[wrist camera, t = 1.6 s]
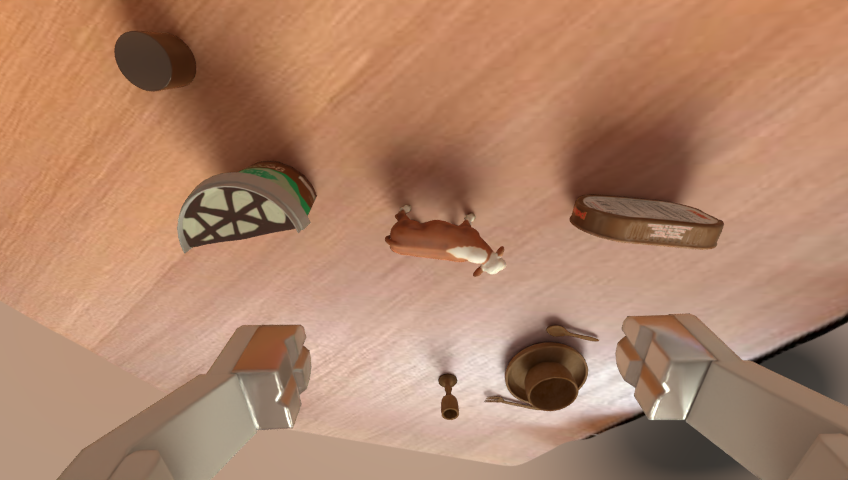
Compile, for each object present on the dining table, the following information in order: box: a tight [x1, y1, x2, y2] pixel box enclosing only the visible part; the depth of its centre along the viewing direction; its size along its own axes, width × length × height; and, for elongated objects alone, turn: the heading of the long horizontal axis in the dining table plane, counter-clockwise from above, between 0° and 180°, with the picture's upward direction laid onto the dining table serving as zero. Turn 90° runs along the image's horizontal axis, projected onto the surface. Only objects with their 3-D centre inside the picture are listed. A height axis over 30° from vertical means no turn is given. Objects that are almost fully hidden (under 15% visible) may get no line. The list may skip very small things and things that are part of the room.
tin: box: [570, 195, 724, 250], centre depth 39 cm, size 15×3×8 cm, turn 84°
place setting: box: [439, 325, 599, 420], centre depth 52 cm, size 18×20×6 cm
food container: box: [177, 161, 317, 253], centre depth 37 cm, size 12×6×10 cm, turn 101°
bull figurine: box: [385, 205, 506, 277], centre depth 41 cm, size 4×13×8 cm, turn 77°
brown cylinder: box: [115, 31, 196, 91], centre depth 34 cm, size 5×5×4 cm
